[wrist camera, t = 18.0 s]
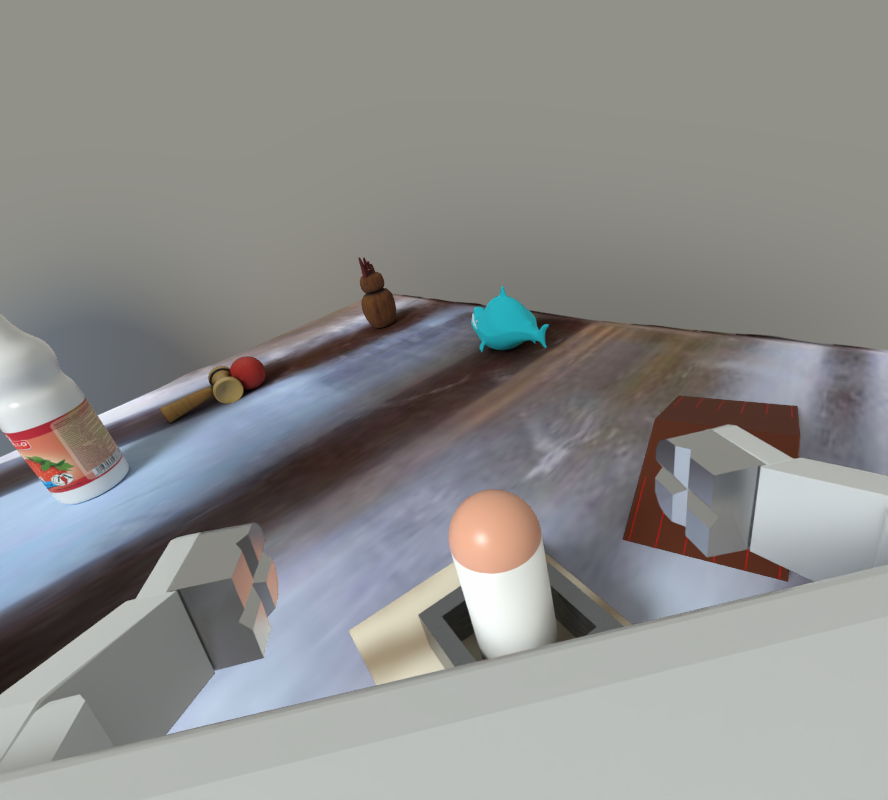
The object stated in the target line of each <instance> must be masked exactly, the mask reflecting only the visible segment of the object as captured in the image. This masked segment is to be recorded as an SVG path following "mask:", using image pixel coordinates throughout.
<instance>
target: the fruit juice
mask: <svg viewBox="0 0 888 800" xmlns="http://www.w3.org/2000/svg"><path fill="white" fill-rule="evenodd" d="M0 429H1V430H2V432H3V433H4V434H5V435H6V436H7V437H8V439H9V440H10V441H11V443H12V444H13V445H14V447H15V448H16V449H17V450H18V452H19V453H20V454H21V456H22V457H23V458H24V459H25V461H26V462H27V463H28V465H29V466H30V467H31V468H32V470H33V471H34V472H35V473H36V475H37V476H38V477H39V479H40V480H41V481H42V482H43V484H44V485H45V486H46V488H47V489H48V490H49V491H50V493H51V494H52V495H53V496H54V498H55V499H56V500H57V501H59V502H60V503H62V504H65V505H72V504H78V503H81V502H85V501H87V500H90V499H92V498H95V497H97V496H99V495H101V494H103V493H104V492H106V491H108V490H109V489H111V488H112V487H114V486H115V485H116V484H118V483H119V482H120V481H121V480H122V479H123V478H124V477H125V476H126V474H127V473H128V471H129V465H128V462H127V460H126V459H125V457H124V455H123V454H122V452H121V451H120V449H119V448H118V446H117V445H116V443H115V442H114V440H113V439H112V437H111V436H110V434H109V433H108V431H107V430H106V428H105V427H104V425H103V424H102V422H101V421H100V419H99V417H98V416H97V415H96V413H95V412H94V410H93V408H92V407H91V405H90V404H89V402H88V401H87V399H86V398H85V396H84V395H83V393H82V392H81V390H80V389H79V388H78V386H77V385H76V384H75V382H74V381H73V380H72V379H71V378H69V377H67V376H66V375H65V374H64V373H63V372H62V371H61V370H60V368H59V364H58V361H57V358H56V355H55V353H54V351H53V350H52V349H51V347H50V346H49V345H48V344H47V343H46V342H44V341H43V340H41V339H39V338H37V337H35V336H32V335H29V334H27V333H24V332H23V331H21V330H20V329H18V328H17V327H15V326H14V325H13V324H12V323H10V322H9V321H8V320H7V319H6V318H5V317H4V316H3V315H2V314H1V313H0Z"/></svg>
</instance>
